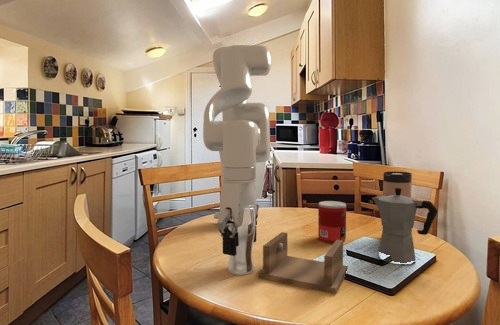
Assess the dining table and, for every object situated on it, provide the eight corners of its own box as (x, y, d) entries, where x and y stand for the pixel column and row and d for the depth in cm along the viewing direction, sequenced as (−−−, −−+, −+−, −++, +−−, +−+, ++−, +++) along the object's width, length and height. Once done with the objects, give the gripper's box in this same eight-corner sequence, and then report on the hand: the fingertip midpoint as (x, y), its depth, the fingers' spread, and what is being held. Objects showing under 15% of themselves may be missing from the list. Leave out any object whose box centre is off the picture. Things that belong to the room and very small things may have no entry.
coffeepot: (362, 256, 82) (363, 187, 81) (379, 247, 88) (380, 183, 87) (427, 274, 71) (430, 194, 69) (441, 262, 77) (444, 189, 76)
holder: (258, 277, 70) (257, 245, 70) (278, 258, 81) (278, 231, 80) (336, 294, 62) (336, 258, 62) (347, 271, 73) (348, 240, 72)
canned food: (347, 244, 91) (347, 206, 90) (318, 243, 93) (318, 205, 92) (344, 236, 98) (345, 201, 98) (318, 235, 100) (318, 200, 99)
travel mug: (409, 237, 97) (411, 171, 95) (410, 245, 90) (412, 174, 88) (382, 234, 100) (383, 171, 98) (381, 241, 93) (382, 173, 91)
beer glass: (245, 278, 70) (244, 211, 69) (219, 271, 73) (218, 207, 72) (261, 267, 76) (260, 205, 74) (236, 261, 79) (236, 202, 78)
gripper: (243, 170, 82) (244, 235, 83) (203, 178, 67) (205, 257, 68) (269, 171, 79) (270, 239, 80) (234, 180, 63) (235, 263, 65)
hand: (240, 247), depth 74 cm, fingers open, 9 cm apart
